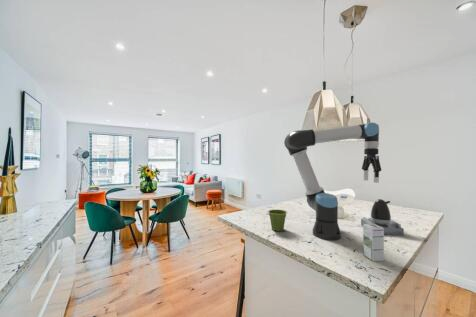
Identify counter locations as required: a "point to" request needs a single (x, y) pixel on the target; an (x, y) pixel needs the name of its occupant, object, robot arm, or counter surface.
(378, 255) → the syrup box
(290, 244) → the counter surface
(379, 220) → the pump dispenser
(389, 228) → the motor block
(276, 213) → the plant pot
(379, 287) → the counter surface
